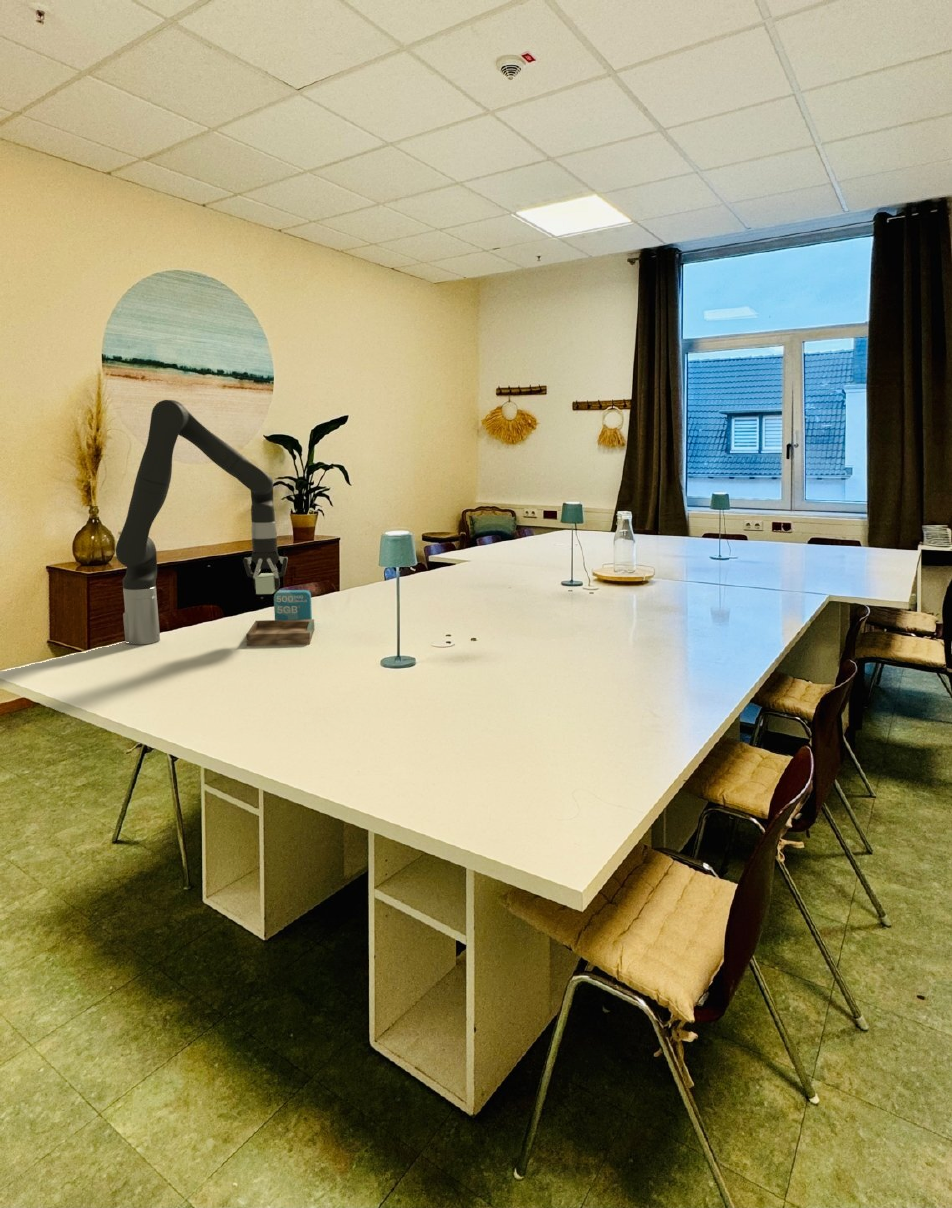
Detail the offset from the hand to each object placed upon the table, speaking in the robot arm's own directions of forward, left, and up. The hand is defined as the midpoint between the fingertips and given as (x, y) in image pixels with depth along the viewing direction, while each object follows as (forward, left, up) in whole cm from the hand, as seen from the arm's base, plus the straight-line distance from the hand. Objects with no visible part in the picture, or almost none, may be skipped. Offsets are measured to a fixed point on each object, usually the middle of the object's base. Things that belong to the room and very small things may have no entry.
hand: (267, 589), depth 230 cm
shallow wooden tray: (+4, 0, -16) cm, 16 cm away
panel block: (0, 0, -1) cm, 1 cm away
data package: (+6, +17, -16) cm, 24 cm away
